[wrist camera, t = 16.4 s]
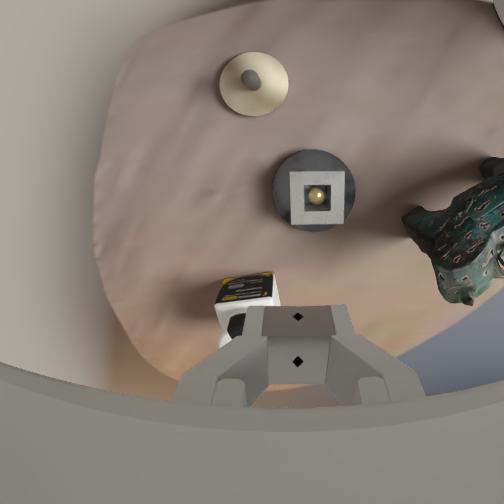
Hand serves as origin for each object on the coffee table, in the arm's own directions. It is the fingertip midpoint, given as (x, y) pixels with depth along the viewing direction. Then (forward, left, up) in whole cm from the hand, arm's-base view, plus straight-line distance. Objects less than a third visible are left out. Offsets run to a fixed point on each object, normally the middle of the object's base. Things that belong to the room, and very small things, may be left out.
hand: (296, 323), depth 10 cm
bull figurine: (-11, +20, -31) cm, 39 cm away
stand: (-7, -9, -31) cm, 33 cm away
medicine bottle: (+17, +6, -31) cm, 36 cm away
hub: (0, +4, -31) cm, 31 cm away
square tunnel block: (0, +4, -30) cm, 30 cm away
